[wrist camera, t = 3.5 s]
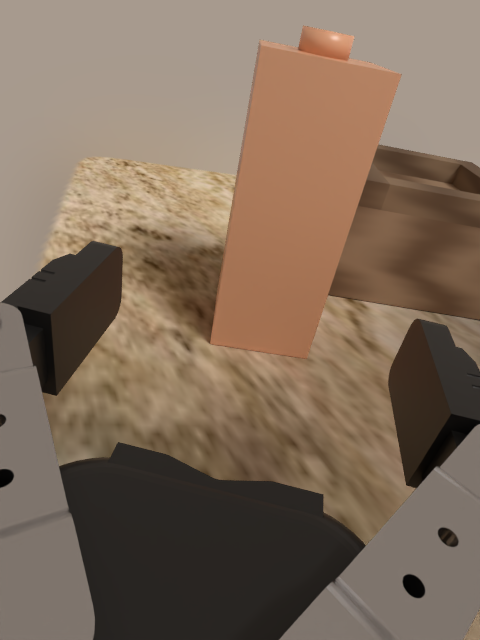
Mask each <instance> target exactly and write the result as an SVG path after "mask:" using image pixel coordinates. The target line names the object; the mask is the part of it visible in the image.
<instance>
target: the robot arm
mask: <svg viewBox="0 0 480 640" xmlns="http://www.w3.org/2000/svg"><path fill="white" fill-rule="evenodd" d="M122 262H123V254H122V250H121V248H120V247H117V246H112V245H108V244H104V243H100V242H95V241H92V242H90V243H89V244H88V245H87V246H86V247H84V248H83V249H82V250H81V251H80V252H79V253H78V254H76V255H73V254H68V255H65V256H62V257H60V258H57V259H54V260H52V261H51V262H50V263H48V264H47V265H46V266H45V267H44V268H42V269H41V272H40V271H39V272H37V273H36V274H35V275H34V276H33V277H32V279H29V280H28V281H26V282H25V283H24V284H23V285H22V286H20V287H19V288H18V289H17V290H15V291H14V292H13V293H12V294H11V295H9V296H8V297H7V298H6V299H5V300H3V301H2V302H0V640H463V639H464V637H465V635H466V633H467V631H468V630H469V628H470V626H471V624H472V622H473V620H474V618H475V616H476V615H477V613H478V611H479V609H480V371H479V369H478V367H477V364H476V362H475V361H474V360H473V359H472V358H471V357H470V356H469V355H468V354H467V353H466V352H465V351H464V350H463V349H462V348H458V347H456V346H455V344H454V341H453V339H452V336H451V334H450V332H449V329H448V327H447V326H445V325H442V324H438V323H433V322H429V321H425V320H421V319H416V320H414V322H413V323H412V324H411V326H410V328H409V330H408V332H407V334H406V336H405V338H404V341H403V343H402V345H401V347H400V349H399V351H398V353H397V355H396V357H395V359H394V361H393V364H392V366H391V369H390V373H389V381H388V385H389V391H390V397H391V403H392V408H393V414H394V419H395V425H396V431H397V436H398V442H399V447H400V453H401V459H402V464H403V470H404V475H405V481H406V485H407V486H411V487H415V488H417V489H416V490H415V491H414V492H413V493H412V494H411V496H410V497H409V498H408V499H407V500H406V501H405V502H404V503H403V505H402V506H401V507H400V508H399V509H398V510H397V511H396V512H395V514H394V515H393V516H392V517H391V518H390V519H389V520H388V522H387V523H386V524H385V525H384V526H383V527H382V528H381V529H380V531H379V532H378V533H377V534H376V535H375V536H374V537H373V538H372V540H371V541H370V542H369V543H368V544H367V545H365V544H364V543H363V542H362V541H361V540H360V539H359V538H358V537H357V536H356V535H355V534H354V533H353V532H352V531H351V530H349V529H348V528H347V527H345V526H344V525H343V524H342V523H340V522H339V521H337V520H336V519H334V518H333V517H331V516H329V515H327V514H326V513H324V512H323V494H319V493H315V492H311V491H307V490H303V489H300V488H296V487H292V486H288V485H284V484H280V483H276V482H271V481H232V480H218V479H214V478H212V477H210V476H208V475H206V474H204V473H202V472H200V471H198V470H196V469H194V468H192V467H190V466H189V465H187V464H185V463H183V462H181V461H179V460H177V459H175V458H173V457H171V456H169V455H166V454H163V453H159V452H155V451H151V450H147V449H143V448H139V447H135V446H131V445H127V444H123V443H119V442H118V444H117V445H116V447H115V449H114V451H113V453H112V455H111V457H110V458H91V459H85V460H79V461H75V462H72V463H68V464H65V465H62V466H59V465H58V461H57V456H56V452H55V447H54V443H53V439H52V434H51V430H50V425H49V421H48V417H47V412H46V408H45V403H44V399H43V395H42V392H44V393H48V394H52V395H56V396H57V395H58V393H59V392H60V391H61V389H62V388H63V387H64V385H65V384H66V383H67V381H68V380H69V379H70V377H71V376H72V375H73V373H74V372H75V371H76V369H77V368H78V367H79V365H80V364H81V363H82V361H83V360H84V359H85V357H86V356H87V355H88V353H89V352H90V351H91V349H92V348H93V347H94V345H95V344H96V343H97V341H98V340H99V339H100V337H101V336H102V335H103V333H104V332H105V331H106V329H107V328H108V327H109V325H110V324H111V323H112V321H113V320H114V319H115V317H116V315H117V313H118V310H119V307H120V303H121V293H122Z"/></svg>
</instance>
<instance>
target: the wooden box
mask: <svg viewBox="0 0 480 640" xmlns="http://www.w3.org/2000/svg"><path fill="white" fill-rule="evenodd" d="M328 295H333V296H339V297H345V298H351V299H357V300H363V301H369V302H375V303H381V304H387V305H393V306H399V307H405V308H411V309H417V310H423V311H429V312H436V313H442V314H448V315H454V316H460V317H466V318H472V319H478V320H480V168H479V167H478V166H476V165H475V164H473V163H471V162H466V161H460V160H455V159H451V158H445V157H440V156H434V155H429V154H425V153H419V152H414V151H409V150H404V149H399V148H393V147H388V146H383V145H378V147H377V150H376V153H375V156H374V159H373V162H372V165H371V168H370V171H369V174H368V177H367V180H366V183H365V185H364V188H363V191H362V194H361V197H360V200H359V203H358V206H357V209H356V212H355V215H354V218H353V221H352V224H351V227H350V230H349V233H348V236H347V239H346V242H345V245H344V248H343V251H342V254H341V257H340V260H339V263H338V266H337V269H336V272H335V275H334V278H333V281H332V284H331V287H330V290H329V293H328Z"/></svg>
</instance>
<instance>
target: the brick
mask: <svg viewBox="0 0 480 640" xmlns="http://www.w3.org/2000/svg"><path fill="white" fill-rule="evenodd" d="M353 40H354V36H350V35H345V34H340V33H336V32H332V31H327V30H322V29H317V28H312V27H308V26H303V29H302V33H301V38H300V43H299V47H298V48H297V47H292V46H288V45H283V44H278V43H274V42H269V41H264V40H260V41H259V46H258V52H257V58H256V65H255V70H254V76H253V82H252V88H251V94H250V100H249V106H248V111H247V117H246V123H245V130H244V135H243V141H242V147H241V153H240V159H239V165H238V171H237V176H236V182H235V188H234V194H233V200H232V206H231V212H230V218H229V224H228V230H227V236H226V242H225V248H224V254H223V259H222V265H221V271H220V277H219V283H218V289H217V295H216V303H215V310H214V318H213V325H212V332H211V340H210V344H214V345H220V346H227V347H233V348H240V349H246V350H253V351H259V352H266V353H272V354H279V355H285V356H292V357H298V358H305V359H307V356H308V353H309V350H310V347H311V344H312V341H313V338H314V335H315V332H316V329H317V326H318V323H319V320H320V317H321V314H322V311H323V308H324V305H325V302H326V299H327V296H328V293H329V290H330V287H331V284H332V281H333V278H334V275H335V272H336V269H337V266H338V263H339V260H340V257H341V254H342V251H343V248H344V245H345V242H346V239H347V236H348V233H349V230H350V227H351V224H352V221H353V218H354V215H355V212H356V209H357V206H358V203H359V200H360V197H361V194H362V191H363V188H364V185H365V183H366V180H367V177H368V174H369V171H370V168H371V165H372V162H373V159H374V156H375V153H376V150H377V147H378V144H379V140H380V137H381V134H382V132H383V129H384V125H385V123H386V120H387V116H388V113H389V111H390V108H391V104H392V102H393V99H394V96H395V93H396V90H397V87H398V83H399V81H400V78H401V74H399V73H396V72H394V71H391V70H389V69H386V68H383V67H380V66H378V65H375V64H373V63H370V62H365V61H360V60H355V59H350V58H349V55H350V51H351V47H352V43H353Z"/></svg>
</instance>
